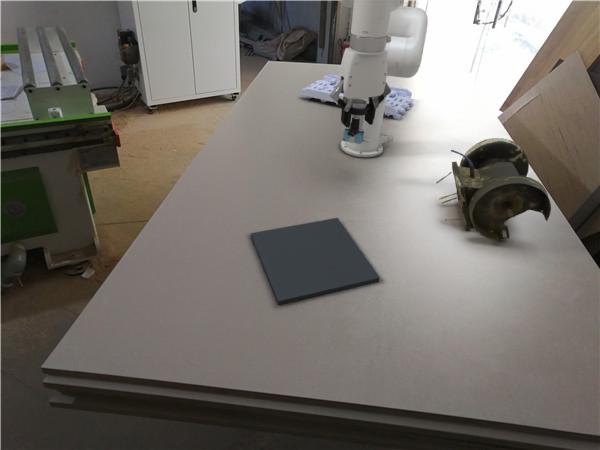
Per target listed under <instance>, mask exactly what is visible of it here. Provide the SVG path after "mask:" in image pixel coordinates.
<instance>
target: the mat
mask: <svg viewBox="0 0 600 450" xmlns="http://www.w3.org/2000/svg"><path fill="white" fill-rule="evenodd" d="M250 238H251V240H252V243H253V245H254V248H255V250H256V253H257V255H258V258H259V261H260V263H261V265H262V268H263V270H264V273H265V276H266V278H267V280H268V283H269V285H270V288H271V290H272V293H273V295H274V298H275V300H276V302H277V305H278V306H280V305H285V304H289V303H292V302H297V301H302V300H306V299H310V298H314V297H319V296H322V295H326V294H327V295H328V294H331V293H335V292H339V291H344V290H348V289H352V288H357V287H360V286H365V285H369V284H373V283H378V282H380V280H381V278H380V276H379V274H378V272H377V271H376V270H375V269H374V267H373V266H372V264H371V263H370V261H369V260H368V259H367V257H366V256H365V254H364V253H363V251H362V250H361V248H360V247H359V246H358V244H357V243H356V242H355V240H354V239H353V237H352V236H351V235H350V234H349V232H348V230H347V229H346V228H345V226H344V225H343V224H342V222H341V220H340V219H339V218H338V217H334V218H328V219H323V220H316V221H312V222H306V223H301V224H295V225H290V226H284V227H278V228H272V229H267V230H261V231H256V232H251V233H250Z"/></svg>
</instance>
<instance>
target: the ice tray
mask: <svg viewBox="0 0 600 450" xmlns="http://www.w3.org/2000/svg"><path fill="white" fill-rule="evenodd" d="M338 78H339V75H336V74H332V73H330V74H326V75H324V77H323V79H321V80H320V79H317V80H315V81H314V83H310V84H308V86H305V87H303V88H302V89H301V91H300V92H301V93H300V94H299V98H300V99H308V100H310V99H313V98H314V99H317V100H320V101H321V103H322V102H323V103H326V102H332V103H335V104H336V106H339V107H341V106H340V105H339V104H338V103H337V102H336V101H335V100H334V99H332V98H331V97H330V93H331V92H332V91H333V90H334V89H335V87H336V86H337V85H338ZM388 86H389V87H390V89H391V93H390V94H388V95H387V97H386V102H385V108H384V117H386V116H387V117H389V116H392V119H395V120H398V121H400V120H401V118H402V116H404V115H405V114H406V112H407V111H409V109H410V107H412V106H413V104H414V100H413V98H412V95H413V92H412V91H410V90H409V89H408V88H403V87H398V86H393V85H389V84H388ZM343 96H344V93H340V94H339V97H340V98H341V99H342V98H343Z"/></svg>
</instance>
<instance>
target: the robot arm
mask: <svg viewBox="0 0 600 450" xmlns="http://www.w3.org/2000/svg"><path fill="white" fill-rule="evenodd" d="M339 2H340V4H341V6H343V7H346V8H349V9H352V16H351V17H352V18H351V27H350V36H349V47H345V49H344V51H343V56H342V58H341V63H340V67H339V72H338V76H339V78H338V85H337V86H336V87H335V89H334V90H333V91H332V92H331V93H330V97H331V98H332V99H334V100H335V101H336V102H337V103H338V106H339V105H340V106H339V107H340V108H341V112H340V113H341V114H340V122H341V124H342V125H343V126H344V127H345V128H348V127H350V125H351V124H350V121H352V118H351V111H350V107H351V105H352V102H353V100H354V99H362V100H365V101H366V104H368V105H369V106H370V108H369V110H368V113H367V114H366V115H364V120H363V125H362V129H363V131H364V135H363V136H365V137H369V139H366V138H365V139H364V138H363V139H362V140H366V142H362V143H361V144H357V143H350V142H347V141H343V139H342V141H341V142H340V148H341V150H342V151H343V152H344V153H346V154H347V155H350V156H353V157H357V158H375V157H378V156H379V155H381V154H382V153H383V151H384V145H383V144H385V143H390V142H393V141H394V140H395V137H394V135H393V134H386V132H381V131H382V127H383V126H382V125H383V119H384V115H385V113H384V108H385V102H386V97H387V95H388V94H390V93H391V89H390V87H389V86H390V85H389V84H388V82H387V77H393V78H401V79H402V78H403V79H410V78H413V77H414V76H416V75H417V73H418V72H419V69H420V67H421V64H422V60H423V55H424V49H425V43H426V39H427V38H426V37H427V32H428V22H429V19H428V18H429V17H428V15H427V14H428V13H427V12H426V10H425V9H423V8H420V7H417V6H416V7H415V6H404V5H405V0H339ZM388 85H389V86H388ZM340 93H344V96H343V98H342V99H341V98H340V97H339V94H340ZM337 103H336V104H337ZM352 117H353V115H352ZM360 120H361V116H360ZM359 126H360V125H359ZM367 141H369V143H368V142H367Z"/></svg>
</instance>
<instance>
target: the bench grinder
mask: <svg viewBox="0 0 600 450" xmlns="http://www.w3.org/2000/svg"><path fill="white" fill-rule="evenodd" d="M450 152H451V153H455V154H457V155H459V156H462V157H461V160H460V163H459V165H458V161H451V170H452V171H450V172H449V173H448V174H446V175H445V176H444V177H442V178H440V179H438V180H437V181H436V185H437V184H439V183H440V182H442V181H443V180H444V179H445V178H447V177H448V176H449V175H451V174H452V175H453V177H454V183H455V184H454V185H455V188H456V189H455V190H456V192H455V193H452V194H448V195H445V196H441V197H438V200H444V199H446V198H448V197H451V196H455V195H456V197H454V198H450V199H446V200H444V201H441V204H445V203H448V202H451V201H453V200H456V199H457V201H458V205H459V209H460V214H461V218H444V221H448V222H452V221H462V223H463V226H464V230H465V231H468V230H471V224H472V226H473V229H474V230H475V231H476V232H477V233H478V234H479V235H481V236H482V237H484V238H485V239H487V240H491V241H495V242H500V243H501V242H503V240H509V239H510V231H509V226H507V225H505V223H507V222H508V221H509V220H510V219H512V218H515V217H517V216H519V215H521V214H523V213H526V212H527V211H533V212H537V213H541V214H542V215H543V218H544V220H545V222H548V220H549V219H550V215H551V211H552V203H551V200H550V198H549V194H548V191H547V190H546V187H545V186H543V184H542V183H540V181H538V180H536V179H535V178H532V177H530V176H528V173H529V169H530V163H529V158H528V156H527V155H526V153H525V151H524V150H523V148H521V146H520V145H519V144H518V143H516V142H515V141H513V140H511V139H507V138H504V137H492V138H485V139H484V140H481V141H479V142H477V143H475V144H474V145H472V146H471V147H470V148H469V149H467V150H466V151H465V153H461V152H459V151H456V150H454V149H451V150H450ZM504 231H505V235H504ZM505 236H506V237H505Z"/></svg>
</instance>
